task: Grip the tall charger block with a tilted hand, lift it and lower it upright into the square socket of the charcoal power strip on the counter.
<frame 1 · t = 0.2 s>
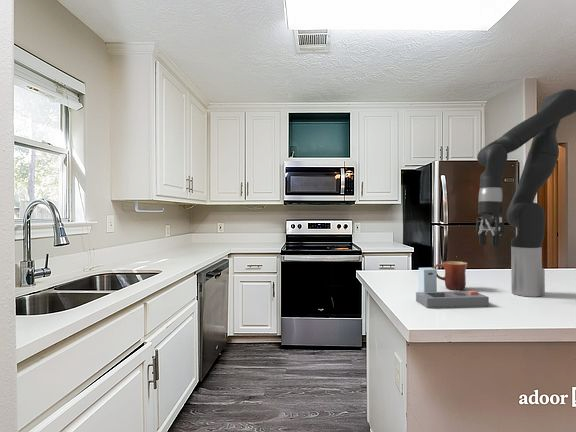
hand: (488, 245, 129), 18 cm above the countertop, tool pointing down, fingers open, 8 cm apart
charger: (427, 296, 130), on the countertop
mug: (450, 289, 141), on the countertop
power strip: (451, 303, 119), on the countertop
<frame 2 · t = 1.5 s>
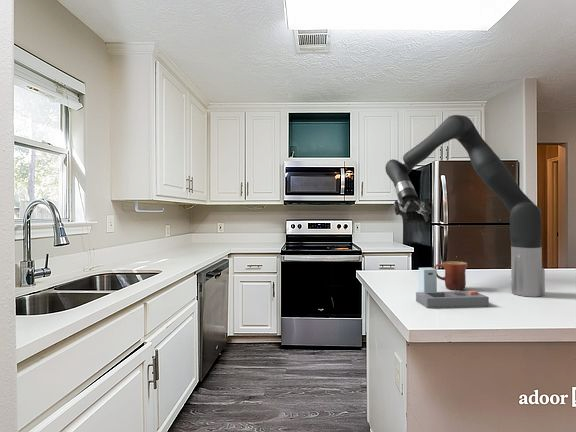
hand: (417, 220, 143), 27 cm above the countertop, tool tilted 45°, fingers open, 8 cm apart
nothing on the countertop moved.
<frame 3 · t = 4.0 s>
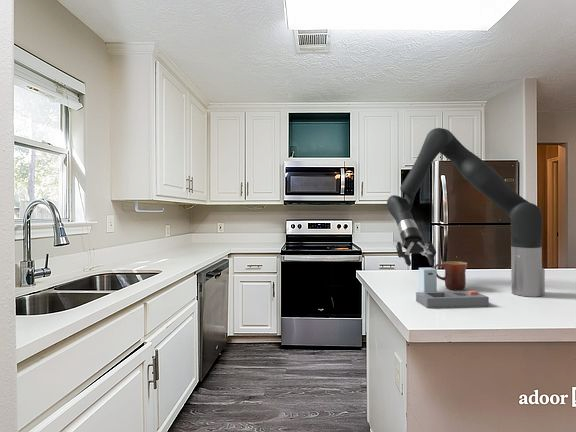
hand: (421, 264, 135), 11 cm above the countertop, tool tilted 45°, fingers open, 8 cm apart
nothing on the countertop moved.
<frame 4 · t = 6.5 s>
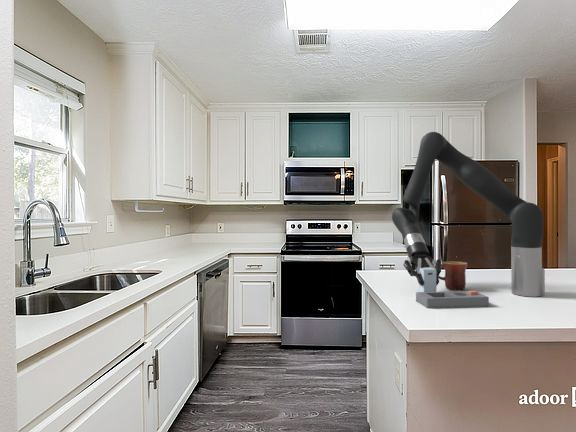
hand: (429, 284, 128), 5 cm above the countertop, tool tilted 45°, fingers closed on charger, 4 cm apart
charger: (427, 296, 130), on the countertop, touching gripper
everything else where it was.
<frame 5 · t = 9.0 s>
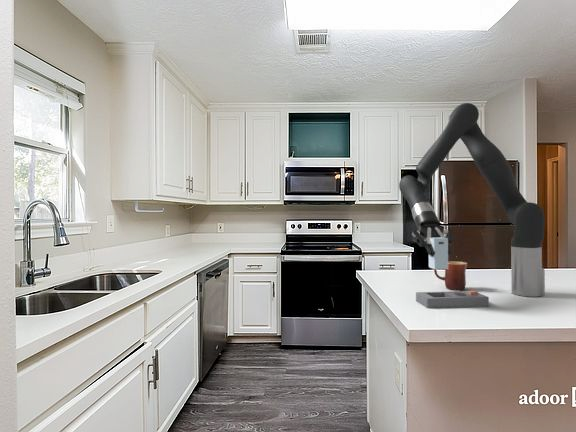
hand: (440, 254, 117), 16 cm above the countertop, tool tilted 45°, fingers closed on charger, 4 cm apart
charger: (438, 268, 119), point 12 cm above the countertop, touching gripper
everything else where it was.
when the fingers open (7 cm above the countertop, at t = 11.8 s): charger drops 1 cm, resting on power strip.
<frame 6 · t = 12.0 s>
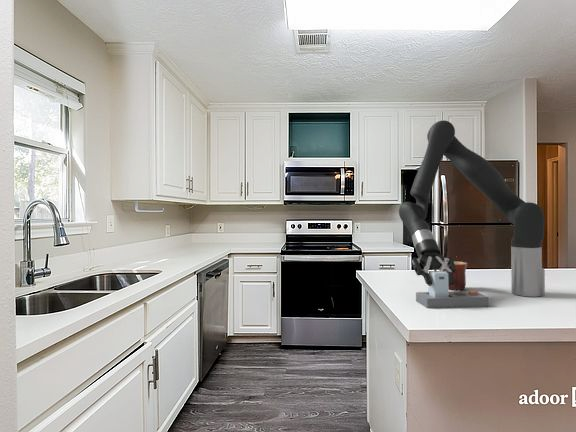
hand: (441, 284, 117), 7 cm above the countertop, tool tilted 45°, fingers open, 6 cm apart
charger: (438, 302, 118), point 1 cm above the countertop, touching power strip
everything else where it was.
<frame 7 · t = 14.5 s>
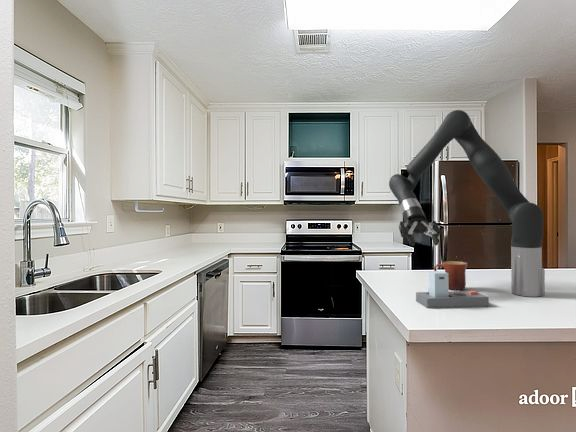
hand: (425, 244, 129), 19 cm above the countertop, tool tilted 45°, fingers open, 8 cm apart
nothing on the countertop moved.
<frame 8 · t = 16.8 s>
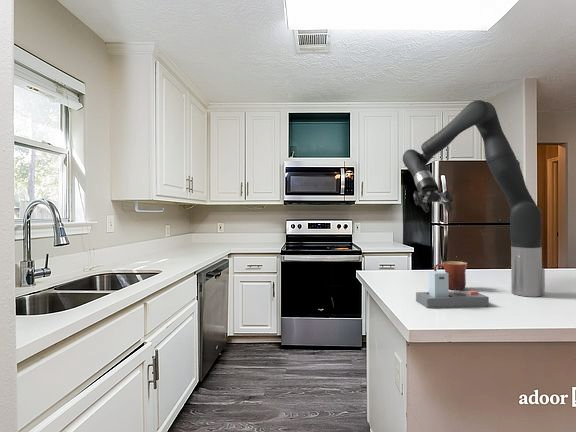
hand: (438, 211, 137), 31 cm above the countertop, tool tilted 45°, fingers open, 8 cm apart
nothing on the countertop moved.
at the end: charger 0.2 cm from the target spot on the power strip, point 0.5 cm above the power strip's base; charger tilted 0°; the gripper is holding nothing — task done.
